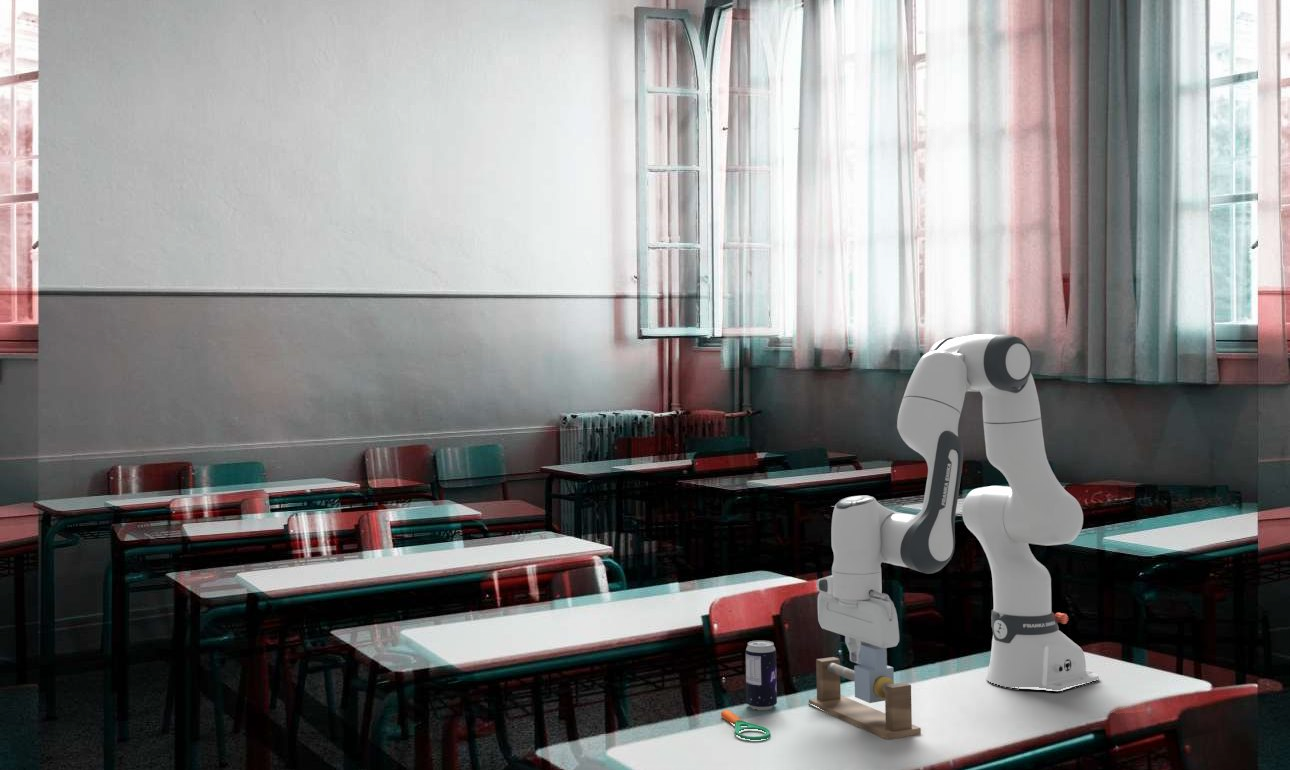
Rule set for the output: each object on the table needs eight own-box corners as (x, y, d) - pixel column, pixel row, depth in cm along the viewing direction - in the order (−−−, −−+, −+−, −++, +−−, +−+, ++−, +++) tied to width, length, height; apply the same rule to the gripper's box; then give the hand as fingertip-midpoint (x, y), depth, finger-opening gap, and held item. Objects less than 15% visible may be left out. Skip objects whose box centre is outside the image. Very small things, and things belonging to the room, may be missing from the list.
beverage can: (775, 712, 211) (774, 647, 211) (744, 710, 212) (743, 646, 212) (778, 703, 216) (777, 640, 216) (748, 702, 217) (747, 639, 217)
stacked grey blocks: (854, 697, 203) (853, 645, 203) (878, 693, 205) (877, 642, 205) (869, 703, 199) (868, 650, 199) (893, 699, 201) (893, 647, 201)
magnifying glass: (776, 741, 195) (776, 731, 195) (744, 745, 193) (744, 735, 193) (740, 717, 209) (740, 708, 209) (710, 721, 207) (710, 711, 207)
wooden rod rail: (808, 704, 215) (807, 657, 215) (839, 699, 218) (838, 652, 218) (887, 739, 193) (886, 686, 193) (920, 733, 196) (919, 681, 196)
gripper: (907, 593, 198) (908, 673, 198) (839, 576, 217) (840, 649, 217) (877, 597, 196) (879, 677, 196) (811, 579, 214) (812, 653, 214)
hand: (858, 662), depth 206 cm, fingers closed
